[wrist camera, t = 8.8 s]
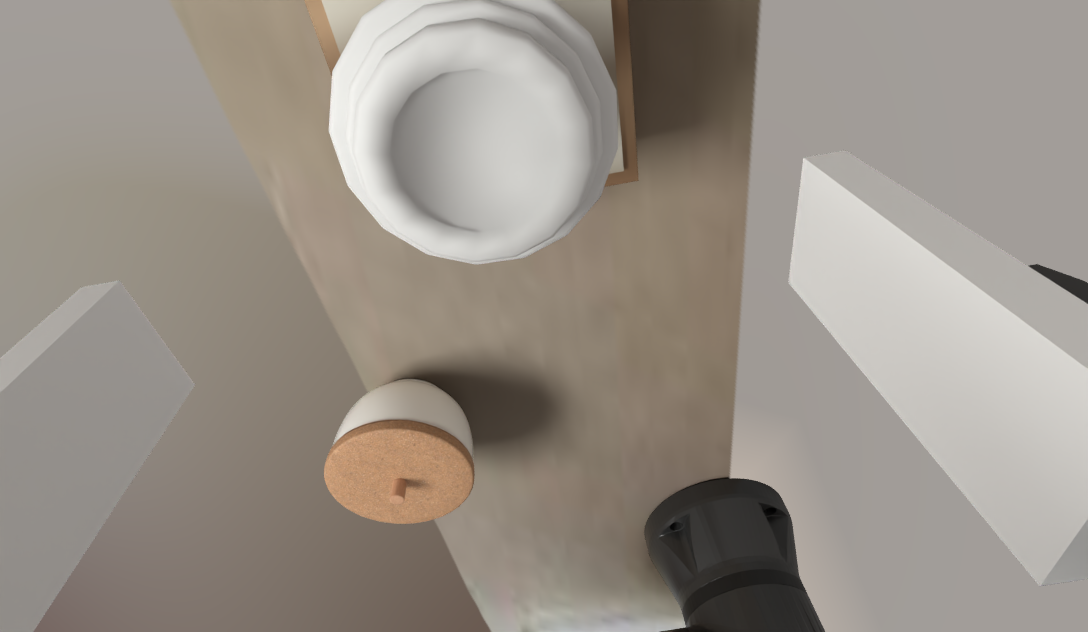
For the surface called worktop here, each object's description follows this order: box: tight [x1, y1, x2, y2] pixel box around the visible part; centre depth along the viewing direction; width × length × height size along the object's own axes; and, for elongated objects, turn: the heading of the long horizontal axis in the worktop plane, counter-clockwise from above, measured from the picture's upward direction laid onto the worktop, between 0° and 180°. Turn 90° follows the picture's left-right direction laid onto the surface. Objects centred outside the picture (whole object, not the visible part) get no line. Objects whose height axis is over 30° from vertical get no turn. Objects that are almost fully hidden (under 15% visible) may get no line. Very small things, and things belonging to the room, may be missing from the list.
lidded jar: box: [324, 379, 474, 524], centre depth 43 cm, size 11×11×9 cm
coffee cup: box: [329, 0, 618, 264], centre depth 21 cm, size 9×9×12 cm
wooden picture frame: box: [304, 0, 638, 187], centre depth 28 cm, size 14×14×6 cm
